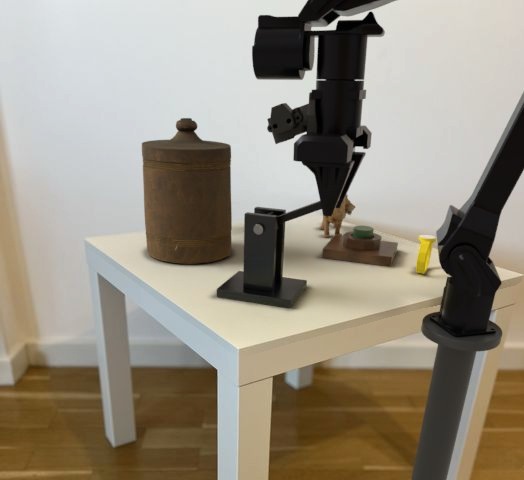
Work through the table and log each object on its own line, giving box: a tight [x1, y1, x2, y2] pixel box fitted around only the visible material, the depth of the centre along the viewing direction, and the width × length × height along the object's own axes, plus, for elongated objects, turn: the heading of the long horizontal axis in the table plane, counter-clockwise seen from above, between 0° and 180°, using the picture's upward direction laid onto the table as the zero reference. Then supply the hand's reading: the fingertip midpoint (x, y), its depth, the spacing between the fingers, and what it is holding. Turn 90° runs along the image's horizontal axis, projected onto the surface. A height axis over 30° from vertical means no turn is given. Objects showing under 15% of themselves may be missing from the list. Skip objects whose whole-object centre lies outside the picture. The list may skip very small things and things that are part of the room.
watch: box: [415, 234, 437, 275], centre depth 90 cm, size 6×3×6 cm, turn 156°
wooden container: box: [141, 117, 233, 265], centre depth 92 cm, size 15×15×22 cm
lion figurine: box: [318, 194, 356, 238], centre depth 111 cm, size 15×5×9 cm, turn 8°
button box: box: [321, 230, 399, 267], centre depth 99 cm, size 12×10×4 cm
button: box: [352, 225, 374, 239], centre depth 98 cm, size 4×4×2 cm
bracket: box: [216, 206, 308, 309], centre depth 78 cm, size 11×9×12 cm
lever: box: [267, 198, 340, 229], centre depth 74 cm, size 12×5×2 cm, turn 72°
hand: (331, 211), depth 72 cm, fingers closed on lever, 5 cm apart
